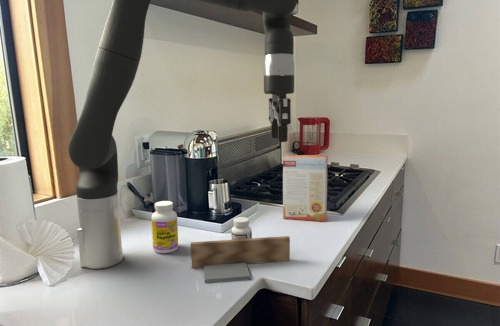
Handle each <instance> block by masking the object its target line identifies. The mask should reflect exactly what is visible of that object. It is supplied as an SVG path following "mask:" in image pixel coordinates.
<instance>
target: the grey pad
mask: <svg viewBox="0 0 500 326" xmlns="http://www.w3.org/2000/svg"><path fill="white" fill-rule="evenodd" d="M203 268H204V269H203V270H204V283H205V284H210V283H222V282H223V283H224V282H233V281H234V282H235V281H244V280H245V281H246V280H251V274H250V271H249V269H248V264H246V263H234V264H220V265H206V266H204V267H203Z"/></svg>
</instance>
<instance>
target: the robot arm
mask: <svg viewBox="0 0 500 326" xmlns="http://www.w3.org/2000/svg"><path fill="white" fill-rule="evenodd" d="M151 2H152V0H113V1H112V3H111V7H110V10H109V13H108V15H107V19H106V21H105V24H104V27H103V31H102V34H101V38H100V41H99V43H98V46H97V50H96V54H95V57H94V60H93V65H92V70H91V73H90V77H89V81H88V86H87V90H86V94H85V99H84V104H83V107H82V110H81V113H80V114H79V118H78V120H77V122H76V125H75V127H74V130H73V133H72V134H71V137H70V140H69V143H68V146H67V147H68V148H67V149H68V156H69V158H70V160H71V162H72V164H73V165H74V166H76V167H77V168H78V179H77V183H76V185H75V186H76V187H75V190H76V201H77V211H78V222H79V227H78V228H77V230H76V231H77V232H76V233H77V242H78V243H77V244H78V253H79V262H80V268H88V269H95V270H96V269H105V268H110V267H114V266H115V265H118V264H119V263H120V262H122V260H123V258H124V256H123V246H122V245H123V243H122V242H123V241H122V231H121V229H122V228H121V219H120V207H119V205H120V204H119V194H118V191H119V190H118V183H119V164H118V163H119V162H118V160H119V159H118V147H117V143H116V139H115V137H114V136H113V132H114V127H115V123H116V119H117V116H118V113H119V111H120V110H121V108H122V106H123V104H124V101H125V100H126V98H127V96H128V94H129V92H130V90H131V88H132V86H133V83H134V81H135V78H136V75H137V72H138V68H139V66H140V65H139V64H140V61H141V57H142V53H143V47H144V46H143V45H144V39H145V26H146V20H147V19H146V17H147V14H148V10H149V7H150V4H151ZM197 2H204V3H208V4H211V5H214V6H215V5H216V6H220V7H222V8H223V7H224V8H227V9H232V10H236V11H237V10H238V11H240V12H250V11H258V12H262V22H263V30H264V61H263V93H264V94H266V95H271V97H270V98H269V99H268V121H269V123H270V130H271V131H270V135H271V138H272V139H277V141H278V142H280V143H287V142H288V137H289V136H288V131H289V130H288V127H289V125H291V122H292V120H291V114H292V113H291V111H292V109H291V105H292V104H291V102H292V101H291V98H288V97H287V95H288V94H289V95H290V94H294V92H295V57H294V45H295V44H294V43H295V42H294V34H293V32H292V31H291V22H290V21H291V20H290V19H291V18H290V17H291V16H290V15H291V14H292V13H293V12H294V10H295V8H296V6H297V2H298V0H197Z"/></svg>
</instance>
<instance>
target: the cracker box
mask: <svg viewBox="0 0 500 326" xmlns="http://www.w3.org/2000/svg"><path fill="white" fill-rule="evenodd" d="M327 204H328V156H327V155H307V154H306V155H304V154H303V155H300V154H299V155H297V154H295V155H293V154H292V155H291V154H286V155H285V156H283V158H282V218H283V219H285V220H299V221H311V222H312V221H313V222H326V220H327V216H328V214H327V213H328V212H327V210H328V205H327Z"/></svg>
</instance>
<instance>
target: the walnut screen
mask: <svg viewBox="0 0 500 326" xmlns="http://www.w3.org/2000/svg"><path fill="white" fill-rule="evenodd" d="M290 239H291V237H290V236H289V235H285V236H284V235H283V236H267V237H256V238H255V237H254V238H253V237H252V238H251V239H235V240H232V239H223V240H208V241H207V240H206V241H192V242H190V257H191V258H190V260H191V261H190V264H191V269H192V268H193V269H194V268H196V269H197V268H198V269H199V268H204V266H206V265H220V264H234V263H246V264H247V265H253V264H263V263H264V264H265V263H278V262H290V261H291V260H290V259H291V258H290V257H291V254H290V253H291V252H290V250H291V249H290V247H291V243H290V242H291V240H290Z"/></svg>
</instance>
